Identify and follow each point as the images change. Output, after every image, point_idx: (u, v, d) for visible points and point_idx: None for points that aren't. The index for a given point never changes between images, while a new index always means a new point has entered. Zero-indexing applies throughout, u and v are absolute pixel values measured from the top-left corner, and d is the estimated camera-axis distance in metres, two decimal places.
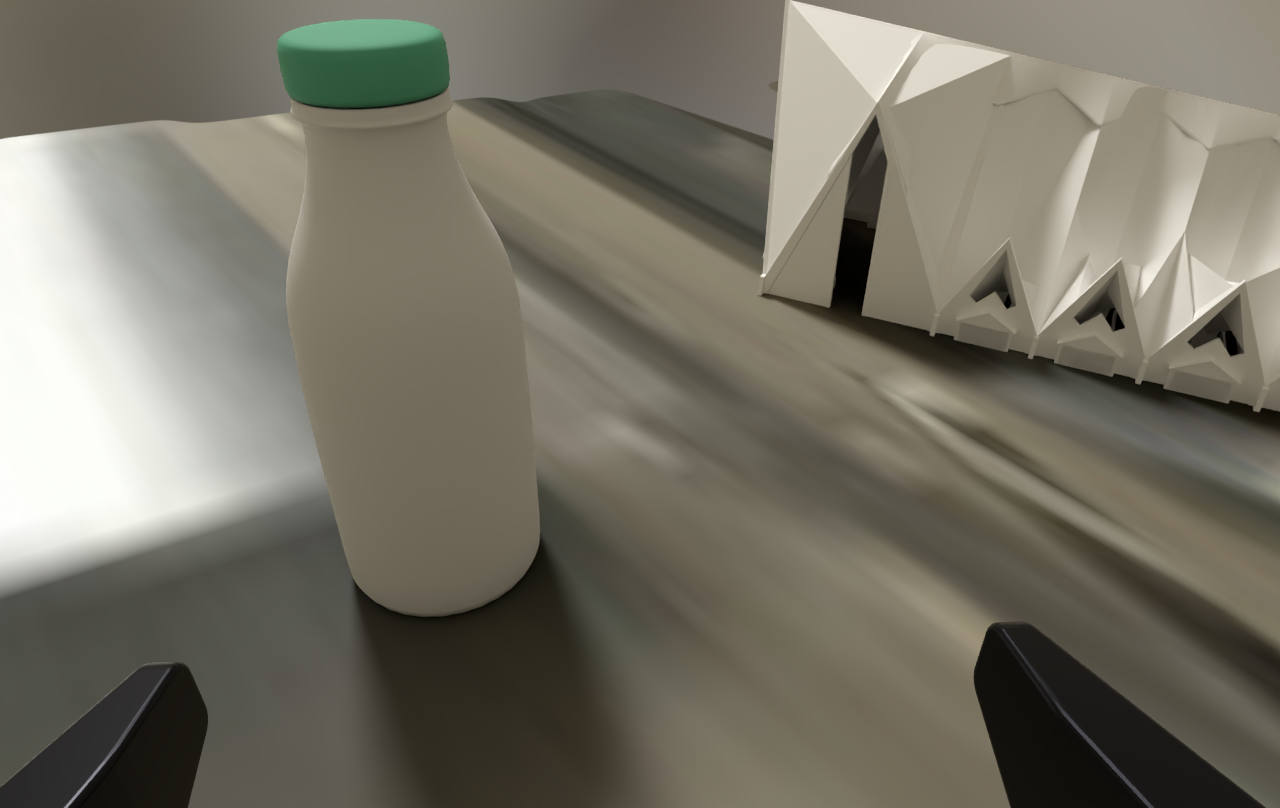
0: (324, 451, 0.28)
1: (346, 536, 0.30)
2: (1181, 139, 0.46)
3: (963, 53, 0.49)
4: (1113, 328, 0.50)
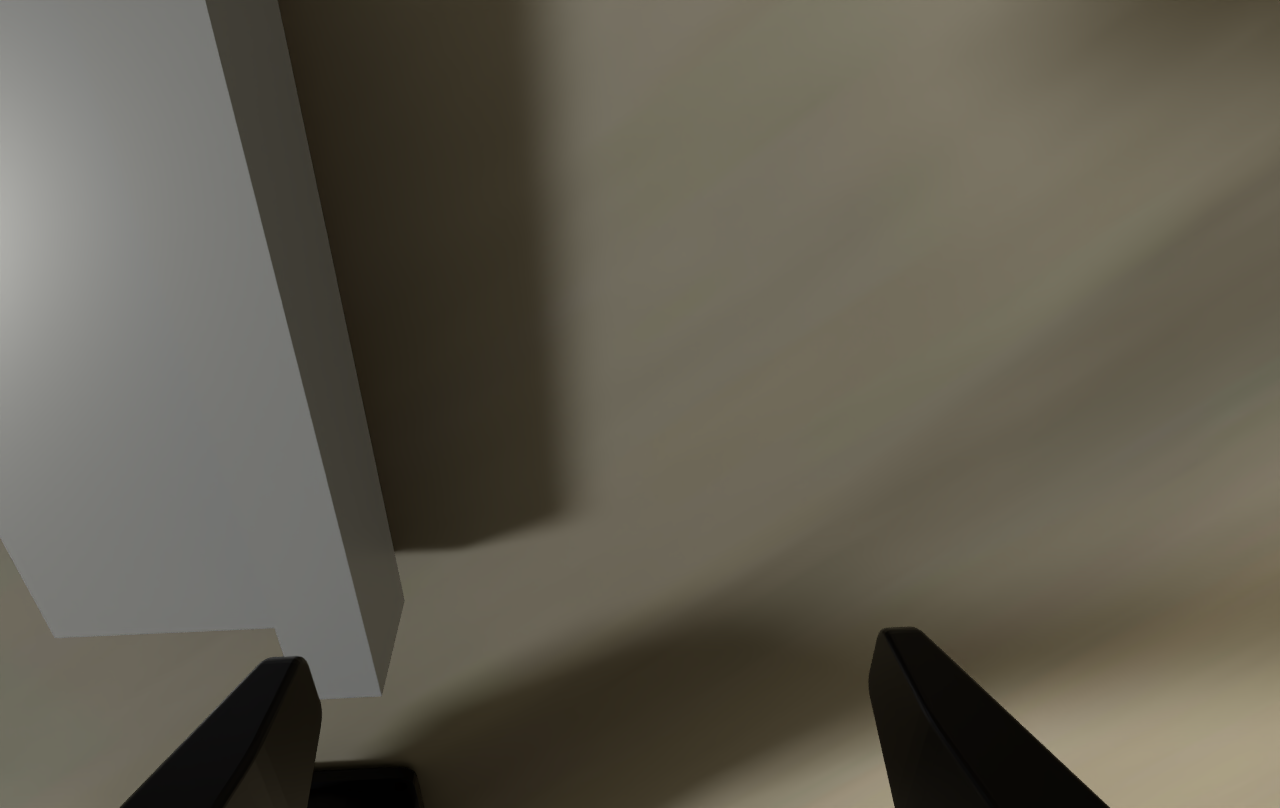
0: None
1: None
2: None
3: None
4: None
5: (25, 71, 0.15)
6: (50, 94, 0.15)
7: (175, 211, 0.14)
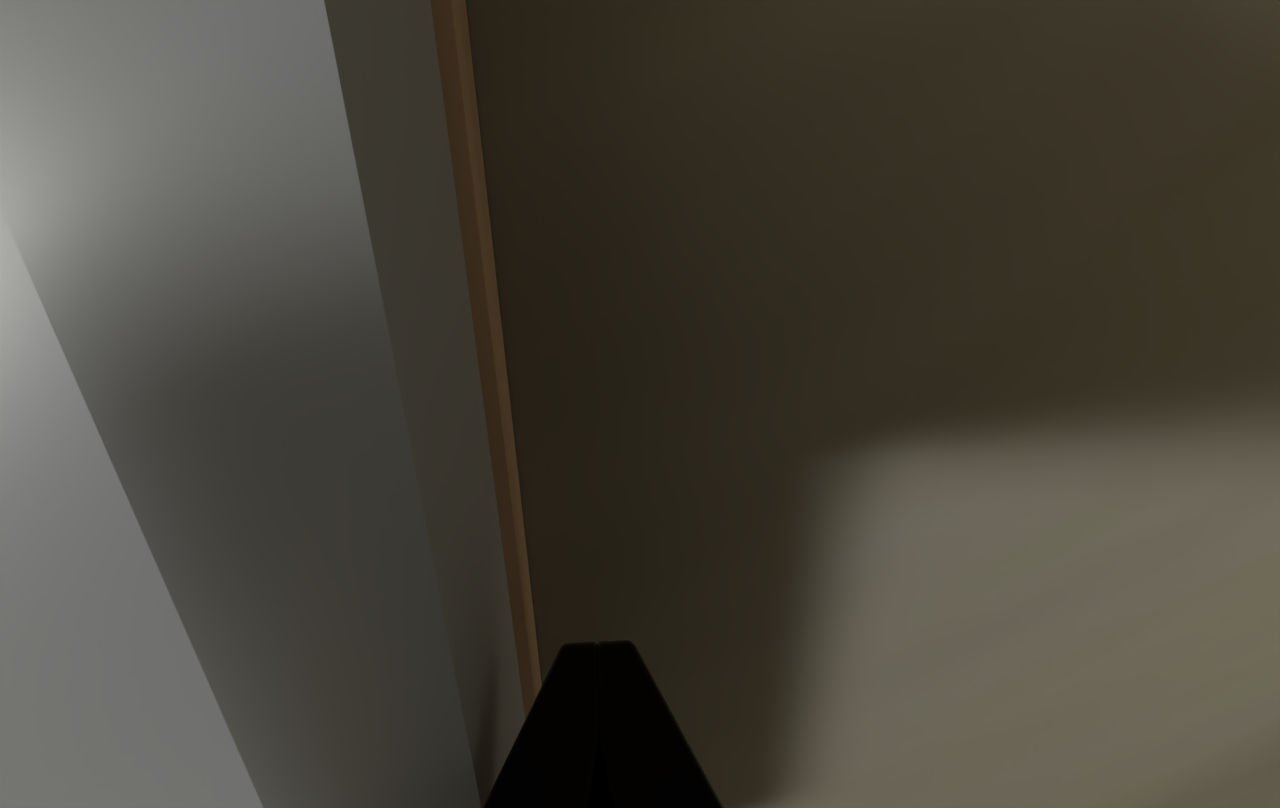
0: None
1: None
2: None
3: None
4: None
5: None
6: (0, 314, 0.08)
7: (262, 601, 0.06)
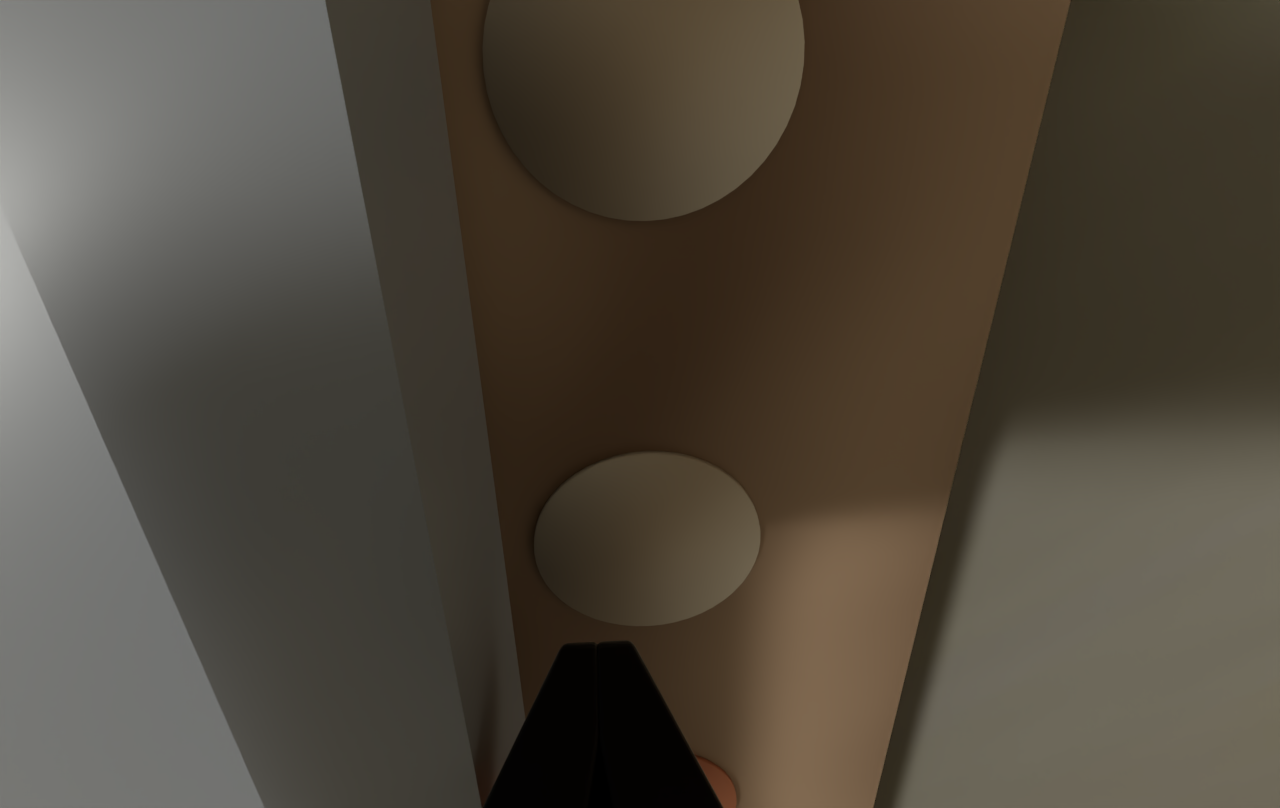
0: None
1: None
2: None
3: None
4: None
5: None
6: (0, 313, 0.08)
7: (263, 600, 0.06)
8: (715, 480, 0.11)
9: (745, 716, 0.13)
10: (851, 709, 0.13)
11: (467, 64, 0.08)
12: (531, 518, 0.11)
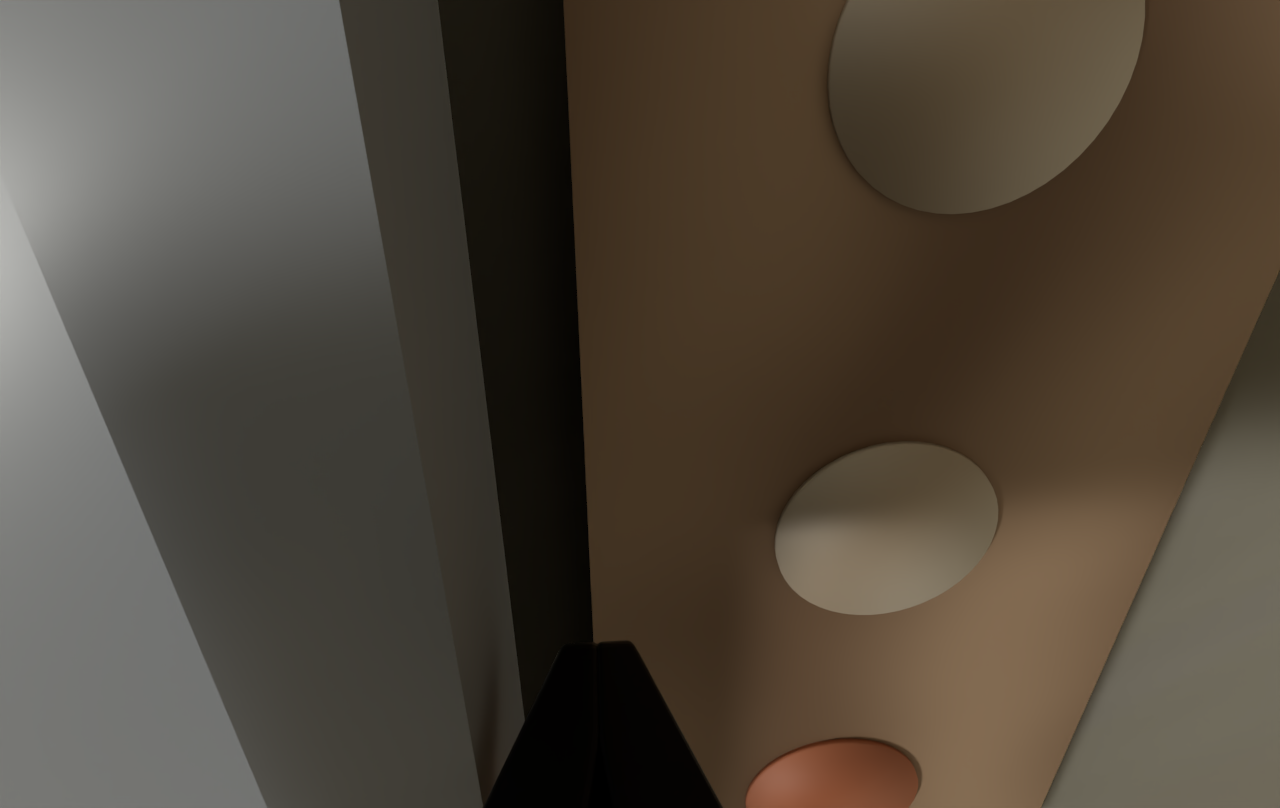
0: None
1: None
2: None
3: None
4: None
5: None
6: (5, 310, 0.08)
7: (268, 597, 0.06)
8: (962, 471, 0.11)
9: (941, 705, 0.13)
10: (1044, 699, 0.14)
11: (813, 59, 0.08)
12: (779, 507, 0.11)
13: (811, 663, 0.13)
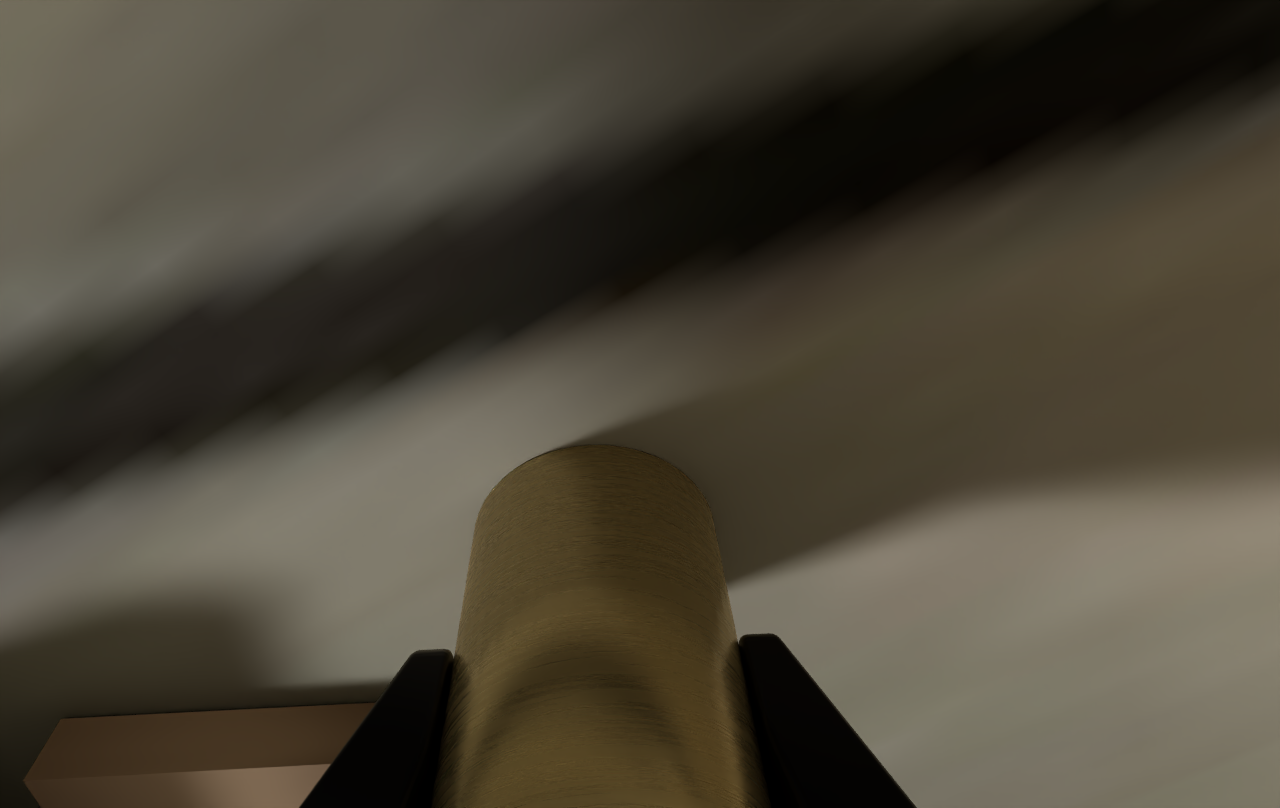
0: None
1: None
2: None
3: None
4: None
5: None
6: None
7: None
8: None
9: None
10: None
11: None
12: None
13: None
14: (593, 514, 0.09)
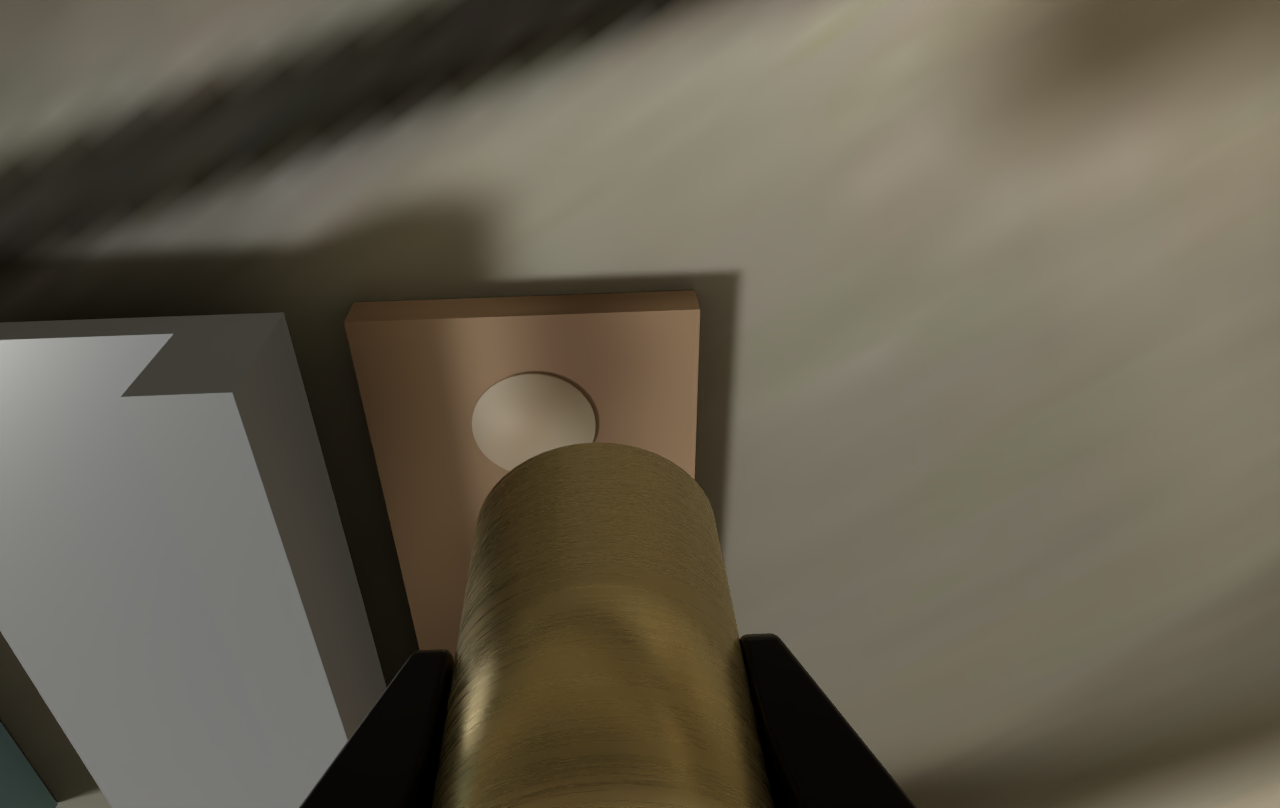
0: None
1: None
2: None
3: None
4: None
5: (136, 518, 0.20)
6: (154, 530, 0.20)
7: (253, 640, 0.19)
8: None
9: None
10: None
11: (466, 426, 0.20)
12: None
13: None
14: (594, 511, 0.09)
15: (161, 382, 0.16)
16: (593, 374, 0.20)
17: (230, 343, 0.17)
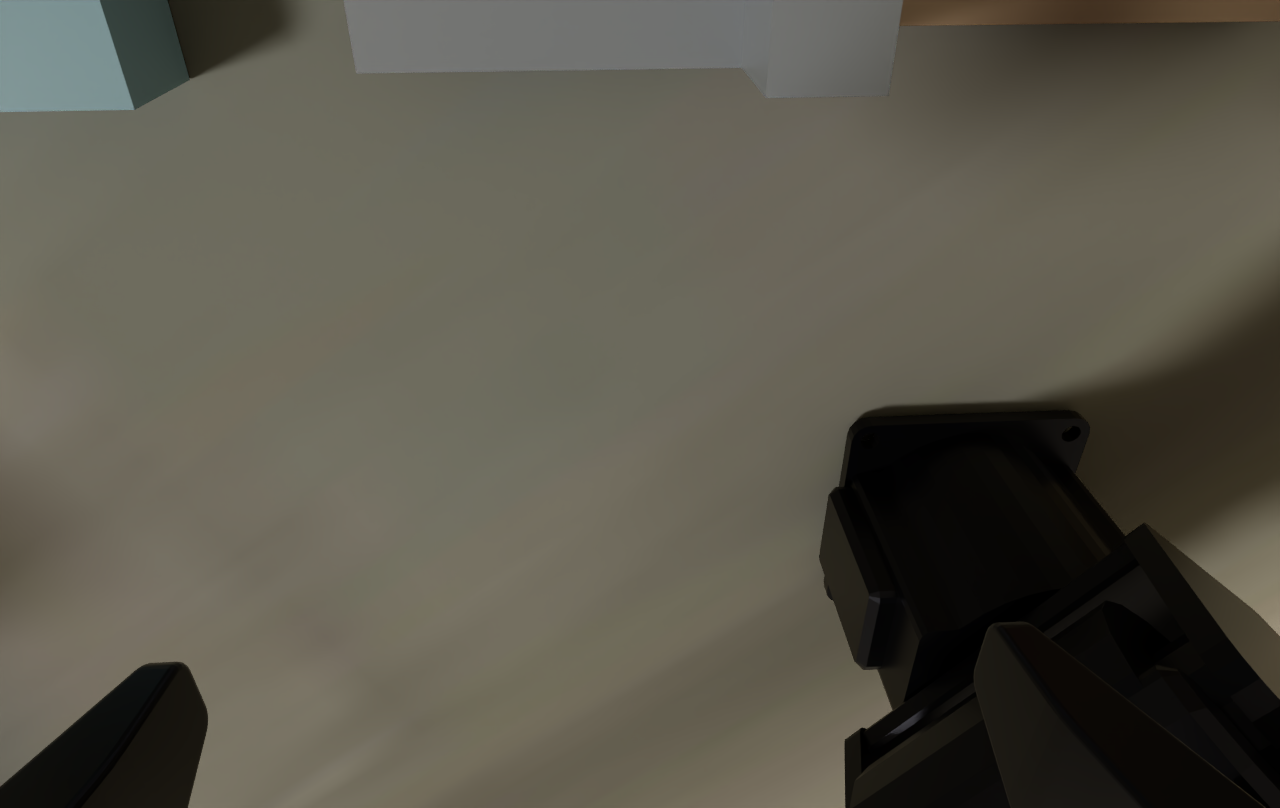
0: None
1: None
2: None
3: None
4: None
5: None
6: None
7: None
8: None
9: None
10: None
11: None
12: None
13: None
14: None
15: None
16: None
17: None
